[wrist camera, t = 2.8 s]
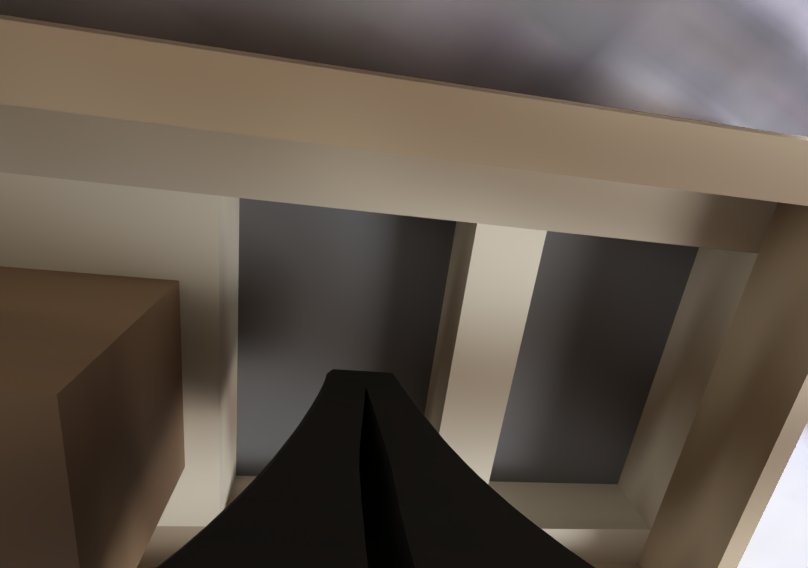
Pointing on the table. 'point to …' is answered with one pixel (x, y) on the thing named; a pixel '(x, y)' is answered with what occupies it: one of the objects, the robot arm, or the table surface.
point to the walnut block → (87, 416)
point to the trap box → (434, 274)
